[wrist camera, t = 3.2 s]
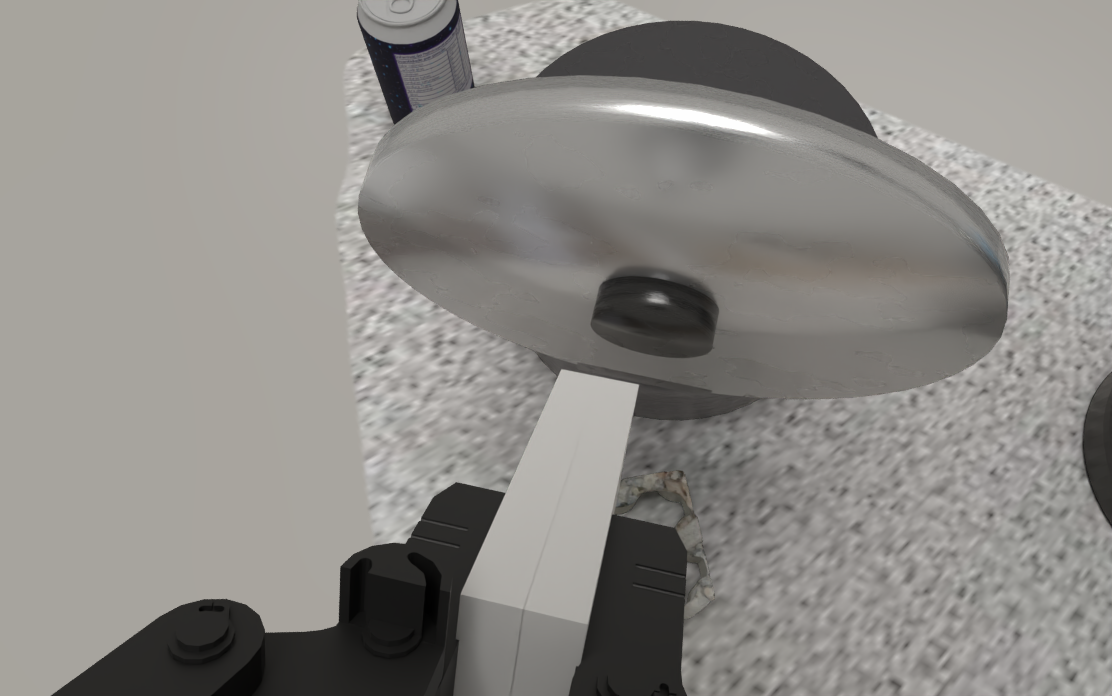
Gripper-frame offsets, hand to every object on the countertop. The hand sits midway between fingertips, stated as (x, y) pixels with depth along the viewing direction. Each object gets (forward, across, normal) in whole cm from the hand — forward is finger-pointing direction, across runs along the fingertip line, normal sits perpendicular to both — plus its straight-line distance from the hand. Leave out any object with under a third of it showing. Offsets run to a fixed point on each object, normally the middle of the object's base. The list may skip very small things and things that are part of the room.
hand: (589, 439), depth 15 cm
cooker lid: (+12, +1, 0) cm, 12 cm away
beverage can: (+40, -16, -2) cm, 43 cm away
